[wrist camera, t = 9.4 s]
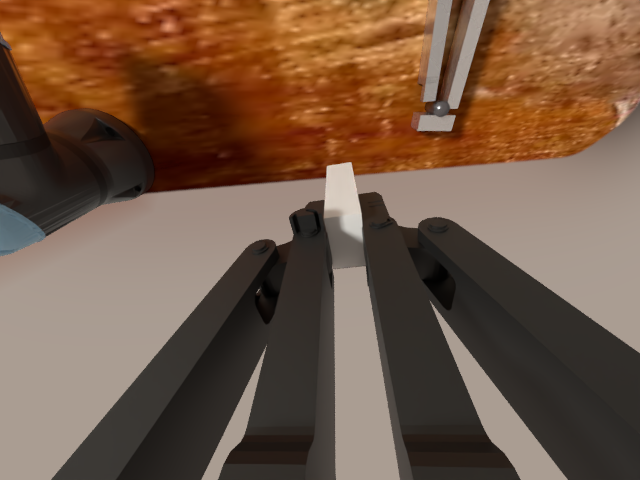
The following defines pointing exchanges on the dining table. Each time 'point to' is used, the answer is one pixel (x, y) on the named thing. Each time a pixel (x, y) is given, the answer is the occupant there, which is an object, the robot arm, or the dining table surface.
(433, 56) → the tongs arm
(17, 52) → the dining table surface
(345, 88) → the dining table surface
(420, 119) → the tongs fixed
